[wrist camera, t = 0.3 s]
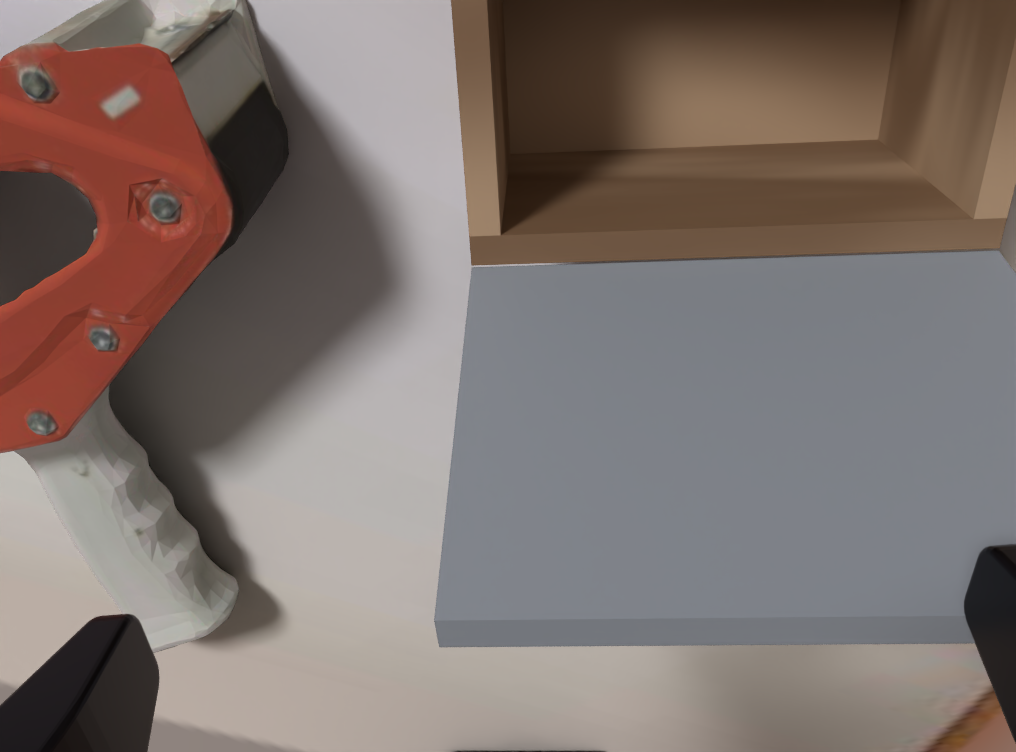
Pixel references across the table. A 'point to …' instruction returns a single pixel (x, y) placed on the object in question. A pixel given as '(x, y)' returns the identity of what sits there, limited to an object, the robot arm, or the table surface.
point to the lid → (729, 451)
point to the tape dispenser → (129, 267)
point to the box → (734, 127)
